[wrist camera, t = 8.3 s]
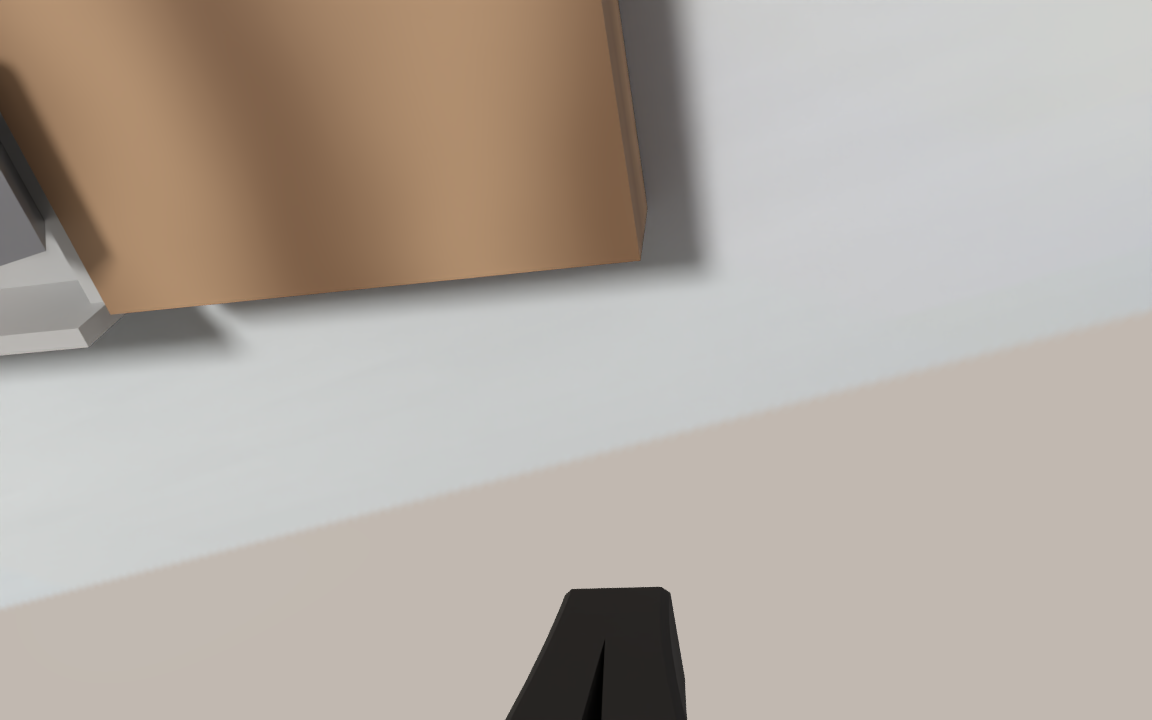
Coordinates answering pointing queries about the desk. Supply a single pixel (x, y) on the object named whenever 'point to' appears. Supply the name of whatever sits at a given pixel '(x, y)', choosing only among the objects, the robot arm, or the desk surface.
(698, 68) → the desk surface
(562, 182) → the walnut board
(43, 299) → the tray
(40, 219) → the tile charcoal
